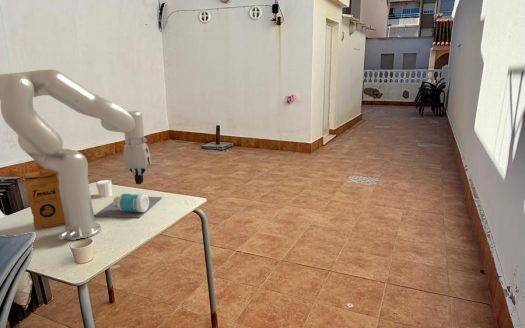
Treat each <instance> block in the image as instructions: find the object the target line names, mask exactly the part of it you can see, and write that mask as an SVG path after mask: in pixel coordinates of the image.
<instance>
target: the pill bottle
mask: <svg viewBox="0 0 525 328" xmlns="http://www.w3.org/2000/svg"><path fill="white" fill-rule="evenodd" d="M148 197H149V196H148V195H147V194H140V193H137V194H135V193H122V194H120V195H119V196H117V195H116V196H115V197H114V198H113V201H112V202H113V205H114V207H116V208H119V210H121V211H128V212H145V211H146V210H147V209H148V207H149V198H148Z"/></svg>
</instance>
